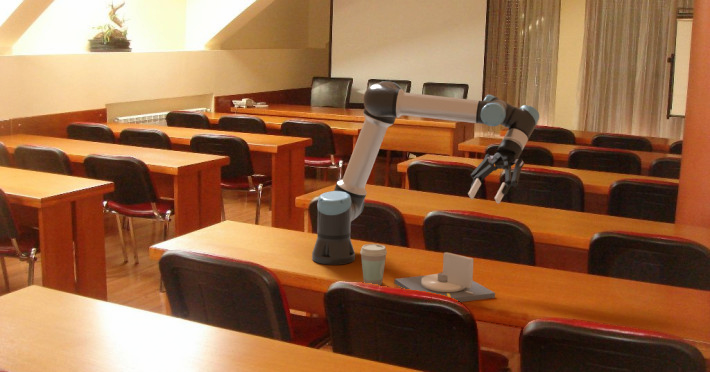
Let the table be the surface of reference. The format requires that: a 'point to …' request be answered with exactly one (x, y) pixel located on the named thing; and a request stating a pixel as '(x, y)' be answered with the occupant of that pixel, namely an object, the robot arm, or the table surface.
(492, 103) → the robot arm
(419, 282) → the dial plate
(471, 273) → the dial
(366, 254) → the coffee cup
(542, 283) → the table surface
